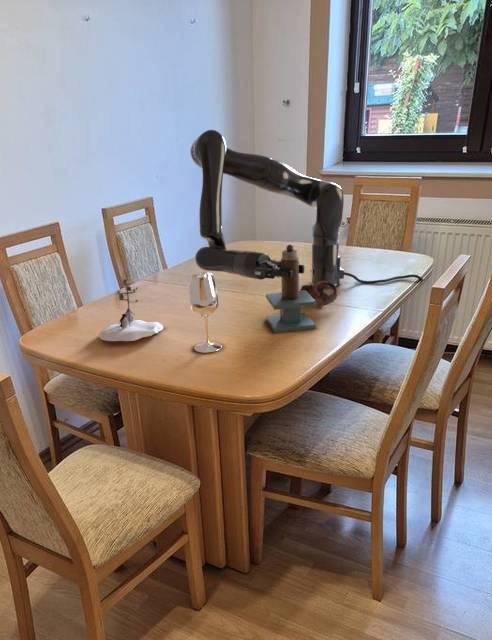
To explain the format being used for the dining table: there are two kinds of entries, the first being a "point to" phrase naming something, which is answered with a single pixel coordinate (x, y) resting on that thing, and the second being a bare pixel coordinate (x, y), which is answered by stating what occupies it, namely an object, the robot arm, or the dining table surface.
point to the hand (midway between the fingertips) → (297, 271)
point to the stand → (290, 312)
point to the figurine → (129, 324)
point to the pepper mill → (292, 284)
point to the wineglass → (204, 305)
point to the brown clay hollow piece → (321, 293)
